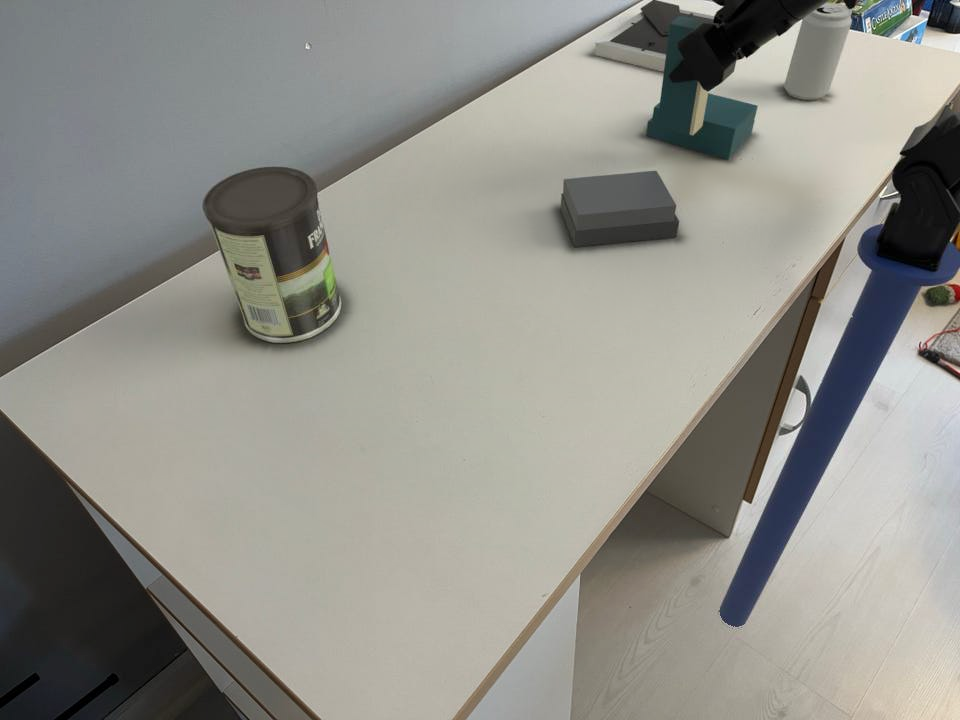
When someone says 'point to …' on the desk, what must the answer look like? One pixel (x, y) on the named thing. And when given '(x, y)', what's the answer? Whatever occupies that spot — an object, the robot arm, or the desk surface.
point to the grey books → (618, 208)
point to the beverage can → (818, 51)
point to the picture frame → (645, 35)
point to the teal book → (681, 86)
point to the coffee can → (275, 252)
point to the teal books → (712, 127)
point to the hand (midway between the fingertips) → (676, 74)
